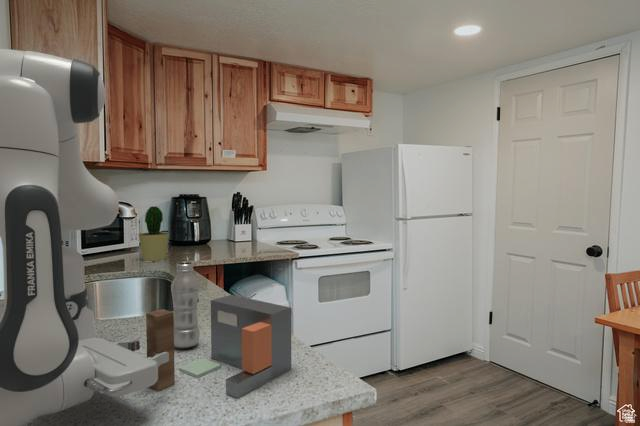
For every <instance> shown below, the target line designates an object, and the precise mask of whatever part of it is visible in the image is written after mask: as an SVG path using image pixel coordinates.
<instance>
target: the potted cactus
mask: <svg viewBox="0 0 640 426" xmlns="http://www.w3.org/2000/svg"><path fill="white" fill-rule="evenodd" d="M163 222H164V214H163V211H162V210H161V208H160V207H159V206H150V207H148V208H147V210H146V211H145V215H144V223H145V225H146V231H147V232H141V233H138V239H139V243H140V249H141V256H142V261H161V260H165V259H166V260H167V254H168V248H169V247H168V245H169V238H170V232H163V231H161V227H162V226H161V225H162V223H163ZM166 260H165V261H166Z"/></svg>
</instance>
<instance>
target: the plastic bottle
mask: <svg viewBox="0 0 640 426" xmlns="http://www.w3.org/2000/svg"><path fill="white" fill-rule="evenodd" d="M193 265H194V264H193V262H191V261H190V262H189V261H183V262H177V263H176V270H175V271H176V275H175V277H174V278H173V279H172V282H171V285H170V291H171V297H172V304H173V305H172V306H173V312H174V348H176V349H188V348H190V349H191V348H193V347H195V346H197V344H198V343H199V341H200V335H201V333H200V327H199V321H198V300H199V299H198V297H199V291H200V283H199V280H198V279H197V277H196V276H195V275H194V274H193V271H194V266H193Z"/></svg>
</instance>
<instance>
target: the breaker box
mask: <svg viewBox="0 0 640 426" xmlns="http://www.w3.org/2000/svg"><path fill="white" fill-rule="evenodd" d="M258 322H263V323H267V324H271V327H272V365H271V366H269V367H267V368H265V369H263V370H261V371H259V372H257V373H255V374H252V373H249V372H246V371H243V370H242V328H245V327H247V326H250V325H253V324H256V323H258ZM210 338H211V339H210V342H211V343H210V348H211V349H210V351H211V352H210V353H211V355H210V358H211V360H216V361H218V362H221V363H223V364H226V365H229V366H232V367H235V368H237V369H240V370H241V371H240V372H238V373H235V374H234V375H232V376H230V377H228V378H226V379H225V394H226V395H228V396H230V397H233V398H235V399H240V398H241V397H243V396H245V395H247V394H249V393H251V392H252V391H254V390H256V389H258V388H260V387H262V386H263V385H265V384H267V383H269V382H272V381H273V380H275V379H277V378H278V377H280V376H282V375H284V374H285V373H288V372H289V371H291V370H292V307H291V306H290V307H289V306H286V305H281V304H277V303H271V302H266V301H262V300H258V299H253V298H248V297H243V296H238V295H234V294H231V295H230V294H229V295H225V296H221V297H219V298H214V299H211V300H210Z"/></svg>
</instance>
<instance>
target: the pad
mask: <svg viewBox="0 0 640 426" xmlns="http://www.w3.org/2000/svg"><path fill="white" fill-rule="evenodd" d="M218 369H222V364H221V363H220V364H219V363H217V362H215V361H212V360H210V359H206V358H204V357H203V358H199V359H197V360H194V361H191V362H190V363H187V364H184V365H181V366H179V367H178V371H180V372H182V373H185V374H187V375H190V376H191V377H194V378H196V379H197V378H200V377H203V376H205V375H207V374H210V373H212V372H214V371H217V370H218Z"/></svg>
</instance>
